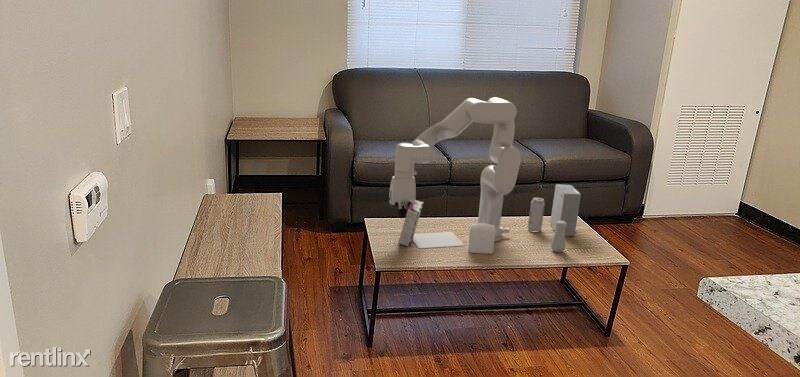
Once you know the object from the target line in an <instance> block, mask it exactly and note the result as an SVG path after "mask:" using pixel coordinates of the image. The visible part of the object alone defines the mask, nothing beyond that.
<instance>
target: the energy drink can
mask: <svg viewBox="0 0 800 377" xmlns="http://www.w3.org/2000/svg"><path fill="white" fill-rule="evenodd" d="M545 204H546V203H545V199H544V198H542V197H537V196H536V197H533V198H532V200H531V201H530V206H529V207H530V209H529V216H528V223H527V229H528V231H529V230H531V231H540V232H541V230H542V227H543V221H544V220H543V219H544V212H545ZM531 231H530V232H531Z"/></svg>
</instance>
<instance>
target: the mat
mask: <svg viewBox="0 0 800 377" xmlns="http://www.w3.org/2000/svg"><path fill="white" fill-rule="evenodd" d="M411 242H413V243H414V244H415V246H416V247H417V249H422V250H424V249H434V248H435V249H436V248H450V247H451V248H453V247H465V246H466V245H465V243H463V242H462V241H461V240H460V238H458V236H457V235H455V234H454V232H452V231H442V232H428V233H427V232H425V233H414V237H413V239H412V241H411Z"/></svg>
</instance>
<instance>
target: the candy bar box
mask: <svg viewBox="0 0 800 377" xmlns="http://www.w3.org/2000/svg"><path fill="white" fill-rule="evenodd" d="M423 206H424V201H420V200H417V199H415V203H411V204H410V205H409V206H408V207H407V210H406V216H405V218H404V222H403V225H402V229H401V233H400V236H399V239H398V244H399V245H401V246H405V247H410V245H411V243H412V242H413V241H412V239H413V237H414V234H416V230H417V226H418V223H419V219H420V216H421V212H422V210H423Z"/></svg>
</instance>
